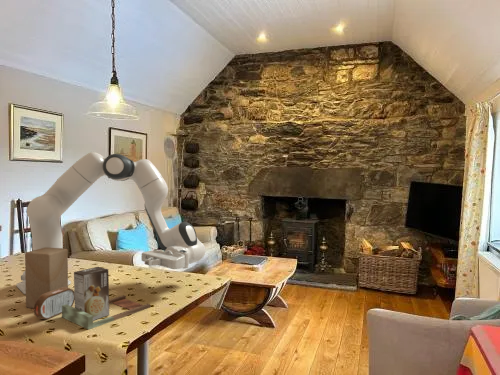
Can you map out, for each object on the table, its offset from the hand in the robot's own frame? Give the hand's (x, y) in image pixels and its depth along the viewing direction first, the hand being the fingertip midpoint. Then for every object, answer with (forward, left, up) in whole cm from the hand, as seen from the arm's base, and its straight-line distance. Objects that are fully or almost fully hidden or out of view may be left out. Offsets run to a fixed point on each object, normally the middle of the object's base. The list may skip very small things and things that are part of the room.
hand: (146, 262), depth 145 cm
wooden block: (-24, -26, -14) cm, 38 cm away
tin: (-12, -29, -14) cm, 34 cm away
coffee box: (0, -23, -14) cm, 27 cm away
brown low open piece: (0, -17, -14) cm, 22 cm away
